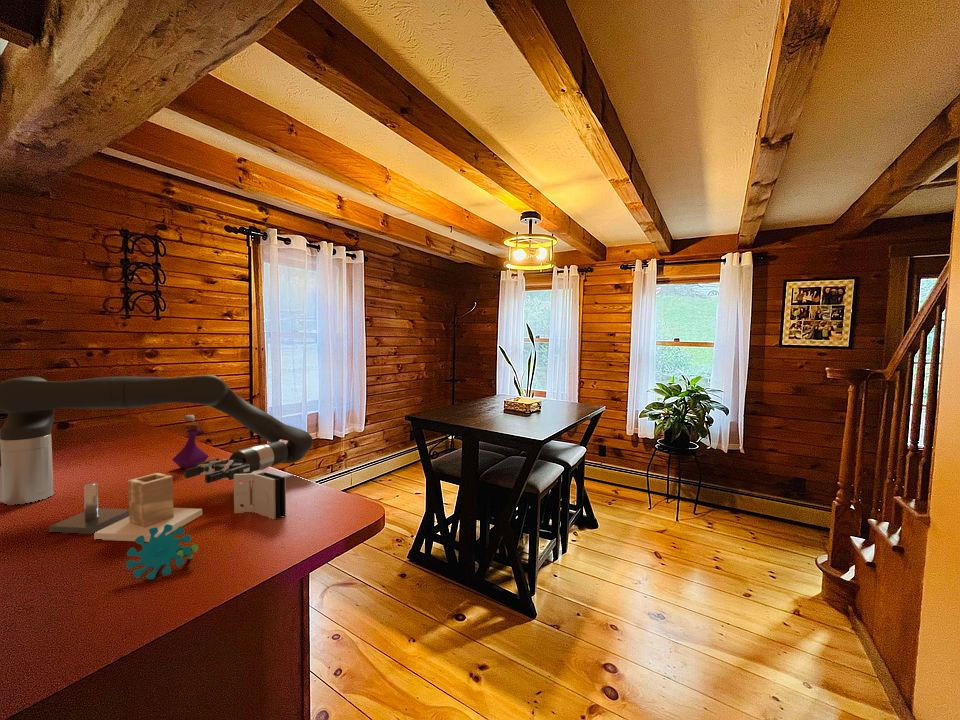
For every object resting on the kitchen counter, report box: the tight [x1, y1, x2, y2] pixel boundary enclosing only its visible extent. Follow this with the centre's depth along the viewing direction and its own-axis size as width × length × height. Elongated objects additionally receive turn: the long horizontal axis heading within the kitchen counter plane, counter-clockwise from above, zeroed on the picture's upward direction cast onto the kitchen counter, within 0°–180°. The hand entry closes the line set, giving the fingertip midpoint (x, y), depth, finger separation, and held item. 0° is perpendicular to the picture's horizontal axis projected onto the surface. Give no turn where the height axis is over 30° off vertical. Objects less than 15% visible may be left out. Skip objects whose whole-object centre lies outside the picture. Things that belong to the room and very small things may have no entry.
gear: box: [126, 524, 199, 581], centre depth 80 cm, size 11×6×10 cm
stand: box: [48, 482, 129, 535], centre depth 97 cm, size 10×10×10 cm
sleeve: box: [127, 472, 174, 528], centre depth 96 cm, size 6×6×10 cm
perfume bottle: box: [171, 414, 210, 470], centre depth 139 cm, size 8×8×18 cm
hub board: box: [93, 507, 203, 543], centre depth 96 cm, size 14×14×8 cm
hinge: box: [233, 470, 287, 520], centre depth 104 cm, size 14×5×10 cm, turn 74°
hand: (195, 476), depth 105 cm, fingers open, 8 cm apart
